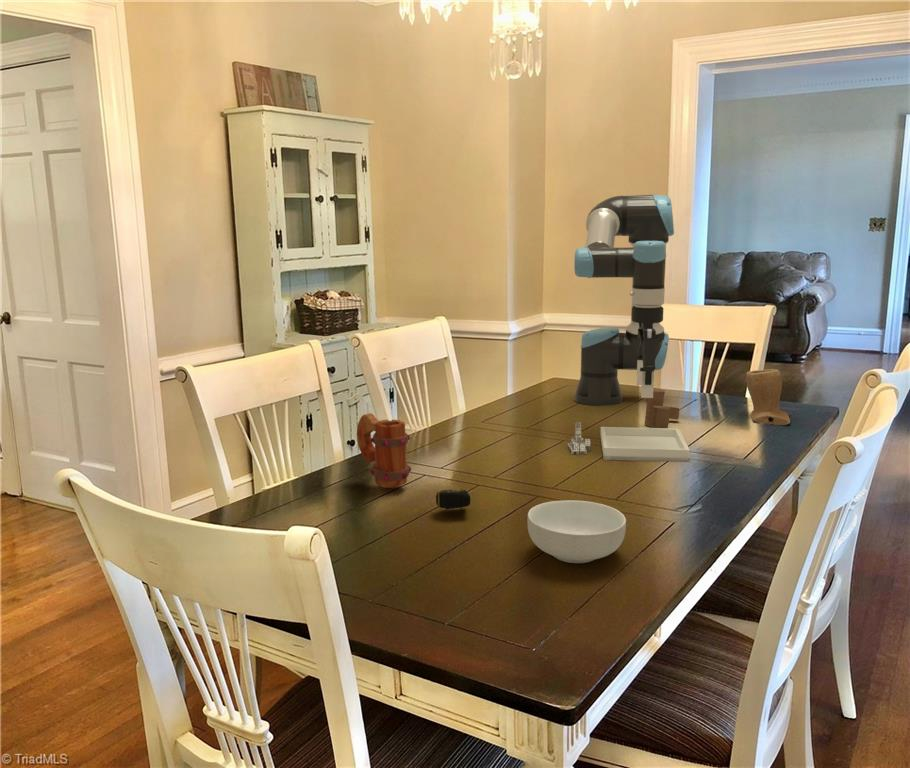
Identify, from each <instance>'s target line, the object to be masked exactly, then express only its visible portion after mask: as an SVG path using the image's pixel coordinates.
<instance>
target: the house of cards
mask: <svg viewBox="0 0 910 768" xmlns="http://www.w3.org/2000/svg"><path fill="white" fill-rule="evenodd" d="M581 424H582V423H581V421H576V422H575V425H574V435H573V437H571V440H570V442H567V448H569V449H568V450H569V451H570V453H571V455H572V456H573V455H587V454H588V453H587V452H590V451H591V445H592V444H591V439H590V438H585V439H584V438H583V437H582V425H581Z"/></svg>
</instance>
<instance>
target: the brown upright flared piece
mask: <svg viewBox="0 0 910 768" xmlns="http://www.w3.org/2000/svg"><path fill="white" fill-rule="evenodd" d="M745 379H746V381H745V382H746V383H745V384H746V387H747V391H748V393H749V396H750V399H751V402H752V405H753V408H752V409H753V410H752V411H751V412H750V416H751V419H752V421H753V422H755V423H757V424H760V423H762V424H761V425H770V424H774V425H773V426H780V425H783V426H787V425H789V424H790V423H791V419H790V417H789V414H788V413H787V412H786V411H784V410H781V409H780V399H781V394H782V390H783V382H782V374H781V371H780V370H779V369H773V368H770V369H769V368H768V369H757V370H750V371H747V372H746V375H745Z"/></svg>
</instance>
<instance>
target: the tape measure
mask: <svg viewBox="0 0 910 768" xmlns="http://www.w3.org/2000/svg"><path fill="white" fill-rule="evenodd" d="M471 501H472V500H471V496H470V493H468V491H467V490H465V489H442V490H438V491H437V492H436V495H435V503H436V505H437V507H438V508H439V509H444V510H445V511H451V510H454V509H461V510H462V509H463V508H465V507H468V506H470V504H471Z"/></svg>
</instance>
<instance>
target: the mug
mask: <svg viewBox="0 0 910 768" xmlns="http://www.w3.org/2000/svg"><path fill="white" fill-rule="evenodd" d="M372 432H374V433H373V435H372ZM356 438H357V439H356V440H357V443H358V449H359V451H360V453H361V456H362V458H364V460H365V462H366V463H368V464H369V463H373V462H374V464H373V466H372V468H371V469H370V470H369V473H370V474H371V475H372V476H373V478H374V482H375V484H376V485H377V486H379V487H381V488H384V489H395V488H399V487H401V486H403V485H405V484H406V483H407V480H408V477H409V476H410V475H409V474H410V472H411V471H412V467H411V466H409V464H408V463H407V451H408V450H407V444H408V442H409V440H411V436H410V435H409V434H408V433H407V432H406V424H405V421H402V420H400V419H391V420H389V419H381V420H379V419H378V418H377V417H376V416H375V415H374V414H373V413H370V412H369V413H366V414H363V415H361V417H360V419H359V421H358V423H357V427H356Z"/></svg>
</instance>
